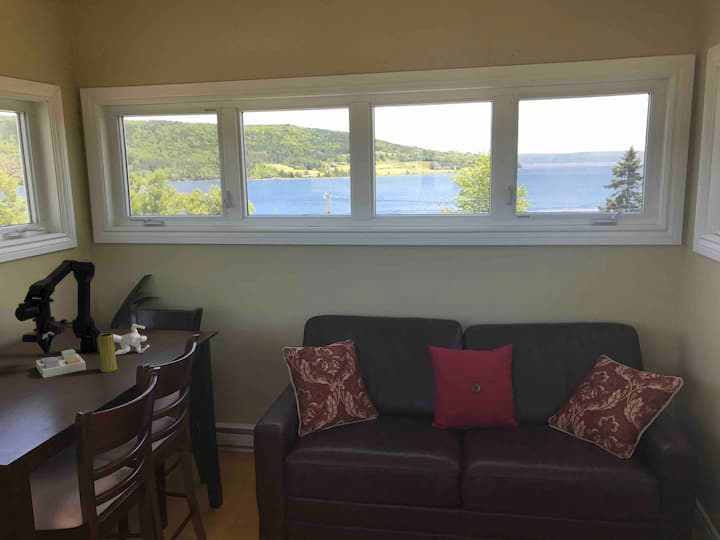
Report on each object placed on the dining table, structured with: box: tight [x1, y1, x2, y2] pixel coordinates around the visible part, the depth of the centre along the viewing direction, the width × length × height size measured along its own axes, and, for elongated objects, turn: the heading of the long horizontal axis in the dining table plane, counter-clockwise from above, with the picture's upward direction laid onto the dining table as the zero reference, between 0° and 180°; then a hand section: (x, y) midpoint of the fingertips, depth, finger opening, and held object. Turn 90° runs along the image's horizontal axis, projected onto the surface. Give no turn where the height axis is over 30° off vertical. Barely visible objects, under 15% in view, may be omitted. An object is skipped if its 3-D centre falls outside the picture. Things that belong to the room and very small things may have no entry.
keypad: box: [35, 352, 87, 379], centre depth 224 cm, size 15×15×3 cm
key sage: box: [60, 348, 76, 360], centre depth 229 cm, size 4×4×3 cm
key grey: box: [44, 356, 59, 369], centre depth 219 cm, size 4×4×3 cm
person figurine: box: [112, 323, 150, 356], centre depth 245 cm, size 13×13×18 cm
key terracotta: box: [65, 357, 80, 365], centre depth 223 cm, size 4×4×3 cm
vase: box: [98, 332, 118, 373], centre depth 221 cm, size 6×6×14 cm
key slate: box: [40, 356, 54, 364], centre depth 225 cm, size 4×4×3 cm
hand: (46, 353), depth 224 cm, fingers closed
